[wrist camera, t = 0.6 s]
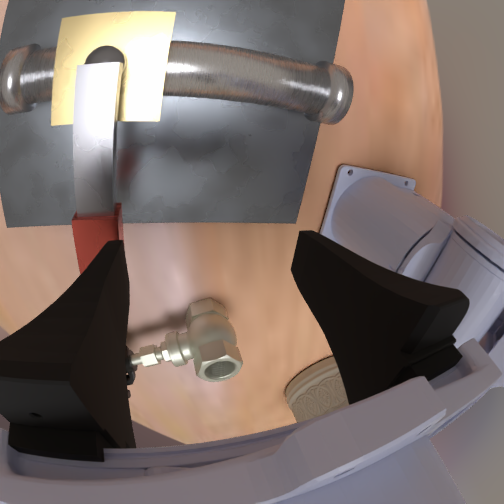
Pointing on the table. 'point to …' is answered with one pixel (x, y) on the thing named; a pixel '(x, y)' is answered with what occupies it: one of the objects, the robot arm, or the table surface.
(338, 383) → the jar
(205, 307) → the valve
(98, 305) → the robot arm
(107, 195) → the valve lever
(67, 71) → the pipe stand
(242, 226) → the table surface
